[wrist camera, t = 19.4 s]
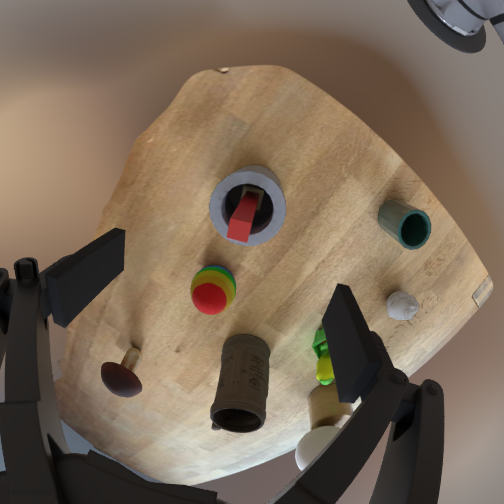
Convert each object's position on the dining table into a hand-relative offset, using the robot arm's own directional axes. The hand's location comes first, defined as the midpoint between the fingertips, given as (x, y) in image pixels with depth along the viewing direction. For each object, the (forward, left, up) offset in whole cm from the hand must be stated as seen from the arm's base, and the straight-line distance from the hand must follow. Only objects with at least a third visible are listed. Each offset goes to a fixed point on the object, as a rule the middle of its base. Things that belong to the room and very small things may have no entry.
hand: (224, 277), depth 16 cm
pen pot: (-3, +26, -33) cm, 42 cm away
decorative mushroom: (+45, -20, -33) cm, 59 cm away
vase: (0, 0, -33) cm, 33 cm away
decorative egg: (+18, -3, -33) cm, 38 cm away
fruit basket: (+27, +24, -33) cm, 49 cm away
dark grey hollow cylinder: (+37, +6, -33) cm, 50 cm away
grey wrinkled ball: (+13, +34, -33) cm, 49 cm away
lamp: (+47, +30, -33) cm, 65 cm away
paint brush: (0, 0, -32) cm, 32 cm away
